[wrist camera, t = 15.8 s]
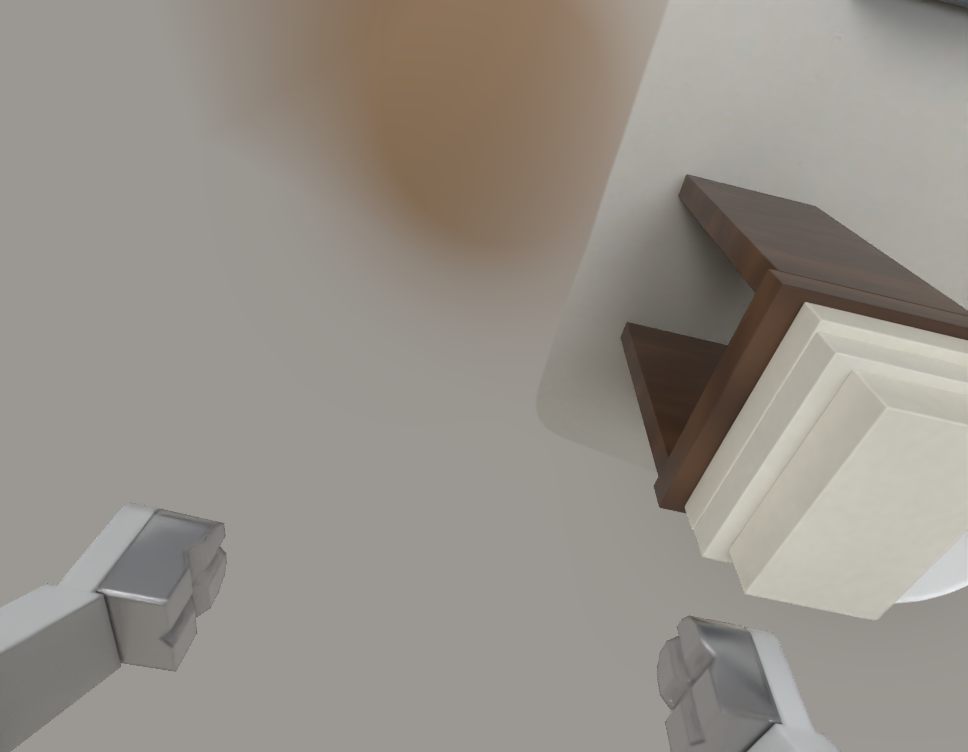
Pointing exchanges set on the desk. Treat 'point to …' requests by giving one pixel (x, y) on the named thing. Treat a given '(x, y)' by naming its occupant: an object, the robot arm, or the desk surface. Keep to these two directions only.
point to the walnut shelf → (761, 320)
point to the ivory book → (862, 500)
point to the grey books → (957, 2)
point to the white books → (808, 407)
